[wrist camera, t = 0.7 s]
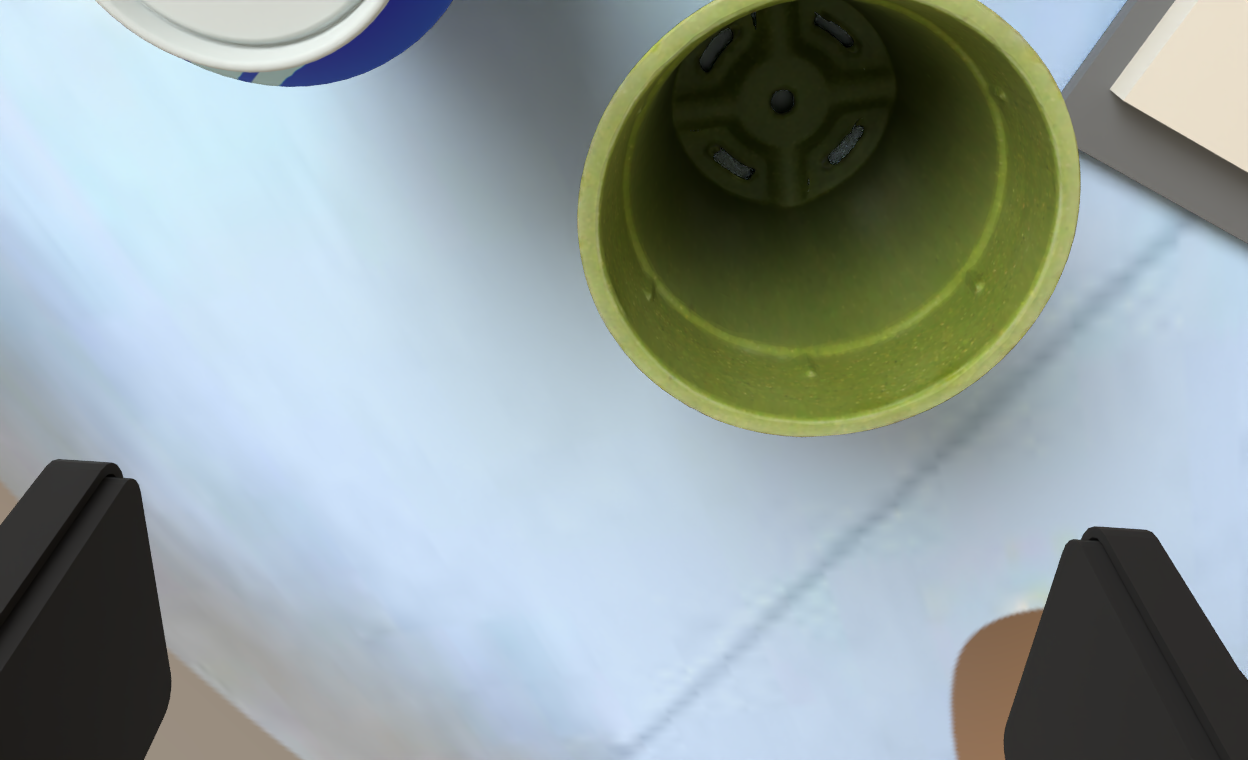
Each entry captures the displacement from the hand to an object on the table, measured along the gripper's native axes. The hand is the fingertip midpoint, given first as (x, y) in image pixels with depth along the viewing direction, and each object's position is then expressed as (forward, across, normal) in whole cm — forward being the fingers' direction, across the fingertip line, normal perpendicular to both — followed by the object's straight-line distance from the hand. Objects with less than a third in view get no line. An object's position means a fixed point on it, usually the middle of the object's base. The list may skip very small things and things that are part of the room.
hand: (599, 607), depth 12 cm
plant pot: (+28, -5, +2) cm, 29 cm away
